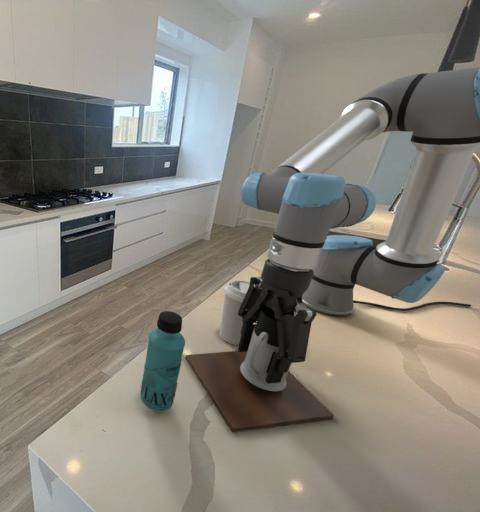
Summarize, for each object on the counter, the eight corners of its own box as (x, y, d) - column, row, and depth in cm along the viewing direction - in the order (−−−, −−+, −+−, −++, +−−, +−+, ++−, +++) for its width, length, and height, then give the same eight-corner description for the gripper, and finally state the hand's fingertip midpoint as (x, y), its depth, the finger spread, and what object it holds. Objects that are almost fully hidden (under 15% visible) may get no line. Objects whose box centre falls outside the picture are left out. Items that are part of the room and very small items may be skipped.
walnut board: (264, 351, 74) (265, 348, 73) (332, 419, 56) (334, 415, 56) (185, 358, 70) (185, 355, 70) (232, 432, 53) (233, 428, 52)
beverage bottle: (131, 403, 57) (142, 315, 50) (152, 385, 62) (164, 301, 54) (160, 425, 53) (176, 333, 46) (179, 404, 58) (197, 317, 50)
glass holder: (293, 378, 62) (316, 317, 57) (263, 412, 54) (287, 345, 48) (251, 355, 69) (268, 298, 63) (218, 382, 60) (235, 320, 55)
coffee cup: (220, 322, 85) (231, 274, 79) (256, 336, 79) (271, 286, 74) (208, 337, 78) (220, 286, 72) (247, 354, 72) (263, 301, 67)
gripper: (235, 243, 62) (213, 334, 70) (322, 293, 42) (278, 410, 51) (267, 243, 63) (242, 332, 71) (366, 291, 44) (316, 405, 52)
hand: (257, 364), depth 61 cm, fingers closed on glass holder, 8 cm apart
